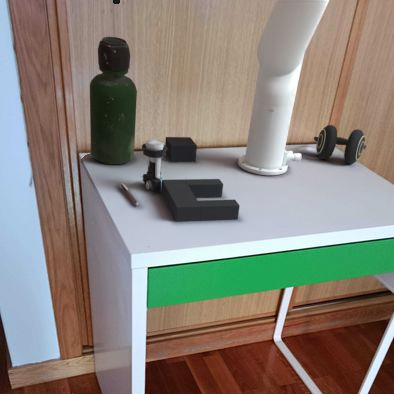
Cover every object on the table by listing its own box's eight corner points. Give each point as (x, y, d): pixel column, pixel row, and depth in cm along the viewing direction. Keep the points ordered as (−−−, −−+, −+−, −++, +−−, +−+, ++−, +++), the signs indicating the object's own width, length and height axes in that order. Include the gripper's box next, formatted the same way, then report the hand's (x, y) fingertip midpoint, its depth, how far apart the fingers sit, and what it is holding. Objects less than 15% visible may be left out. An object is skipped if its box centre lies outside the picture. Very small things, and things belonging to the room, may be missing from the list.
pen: (119, 186, 109) (119, 181, 108) (122, 185, 109) (122, 181, 109) (136, 207, 102) (136, 202, 101) (140, 207, 102) (140, 202, 101)
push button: (133, 184, 111) (133, 137, 105) (152, 180, 114) (154, 134, 107) (150, 195, 107) (151, 147, 101) (170, 190, 110) (172, 144, 104)
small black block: (189, 152, 130) (190, 137, 128) (195, 161, 125) (196, 145, 123) (164, 152, 129) (165, 136, 126) (170, 162, 124) (171, 145, 121)
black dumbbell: (308, 158, 133) (310, 151, 150) (364, 167, 131) (360, 160, 148) (316, 123, 129) (318, 121, 146) (374, 132, 127) (369, 129, 144)
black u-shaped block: (217, 191, 112) (219, 178, 110) (237, 219, 102) (239, 205, 100) (161, 193, 109) (161, 179, 107) (175, 221, 98) (176, 207, 96)
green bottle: (136, 149, 126) (141, 37, 108) (130, 168, 119) (135, 52, 101) (95, 143, 125) (93, 29, 108) (86, 162, 118) (84, 43, 100)
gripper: (136, -95, 96) (135, 11, 107) (123, -94, 109) (124, 1, 120) (97, -100, 94) (100, 9, 105) (88, -98, 107) (92, -1, 118)
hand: (113, 5), depth 112 cm, fingers open, 9 cm apart
